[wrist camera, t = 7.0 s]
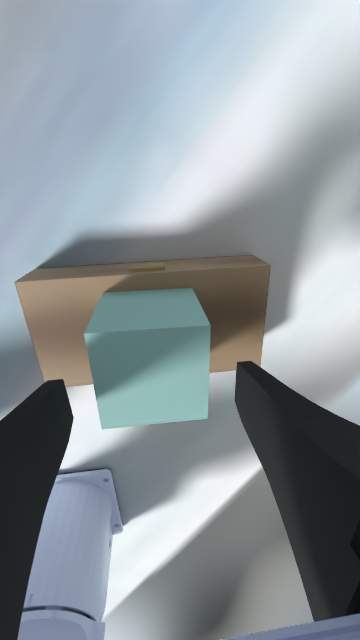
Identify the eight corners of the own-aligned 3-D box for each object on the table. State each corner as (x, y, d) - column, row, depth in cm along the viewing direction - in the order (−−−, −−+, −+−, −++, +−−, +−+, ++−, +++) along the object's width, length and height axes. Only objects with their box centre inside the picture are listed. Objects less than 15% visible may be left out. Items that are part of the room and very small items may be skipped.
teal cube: (192, 361, 18) (207, 418, 13) (113, 367, 17) (102, 429, 13) (192, 287, 16) (210, 325, 11) (102, 292, 15) (83, 333, 11)
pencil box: (245, 345, 21) (260, 367, 18) (60, 362, 20) (46, 388, 17) (252, 251, 18) (270, 261, 15) (34, 265, 17) (13, 278, 14)
